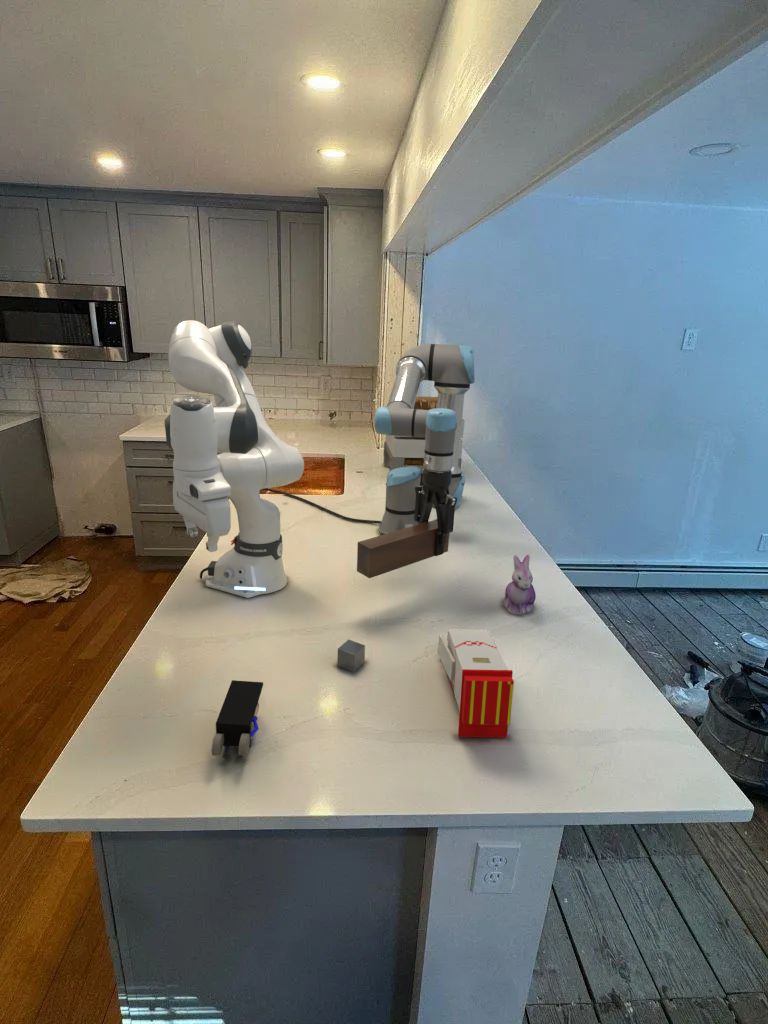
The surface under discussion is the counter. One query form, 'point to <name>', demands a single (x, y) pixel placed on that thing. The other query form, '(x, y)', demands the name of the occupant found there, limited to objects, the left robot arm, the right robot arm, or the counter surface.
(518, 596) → the figurine
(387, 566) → the walnut plank
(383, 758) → the counter surface
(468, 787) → the counter surface
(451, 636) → the toy
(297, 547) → the counter surface
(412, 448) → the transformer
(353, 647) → the slate block
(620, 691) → the counter surface
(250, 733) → the black wheeled block
